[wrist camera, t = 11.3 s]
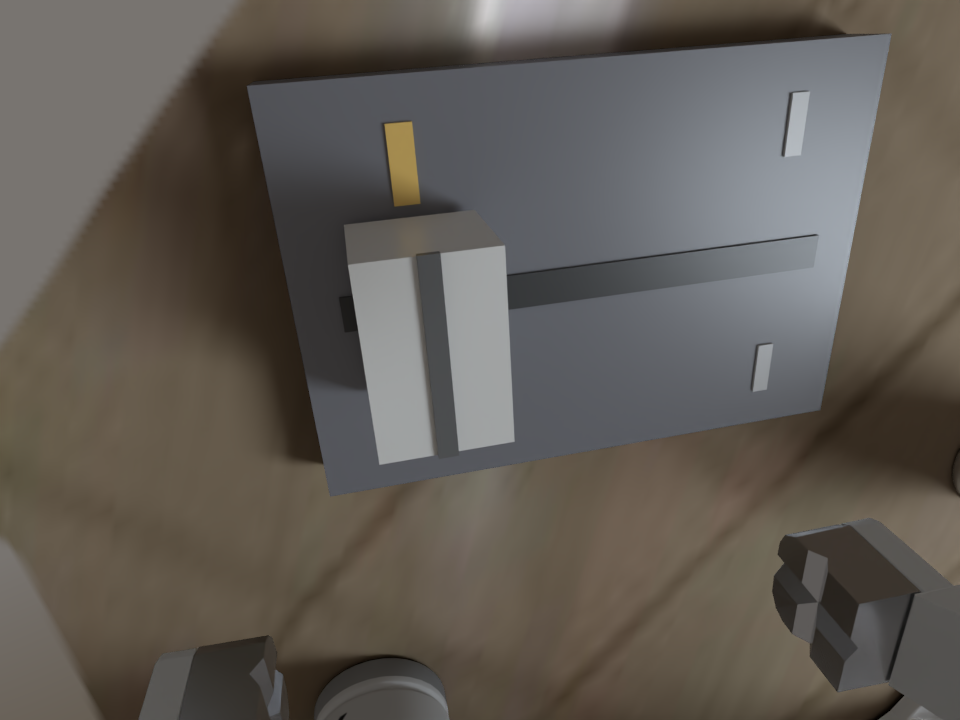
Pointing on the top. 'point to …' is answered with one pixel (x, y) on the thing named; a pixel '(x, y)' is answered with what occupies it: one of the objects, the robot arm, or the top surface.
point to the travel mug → (383, 693)
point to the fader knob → (433, 333)
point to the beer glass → (957, 473)
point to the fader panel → (590, 230)
